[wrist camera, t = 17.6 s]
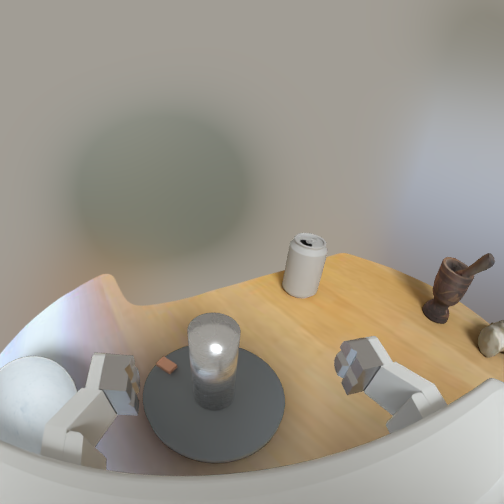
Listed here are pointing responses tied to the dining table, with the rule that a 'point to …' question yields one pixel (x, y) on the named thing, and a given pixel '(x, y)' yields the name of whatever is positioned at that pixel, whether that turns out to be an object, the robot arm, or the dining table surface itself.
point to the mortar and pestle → (452, 285)
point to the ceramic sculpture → (492, 339)
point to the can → (304, 265)
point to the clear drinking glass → (213, 359)
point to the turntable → (213, 422)
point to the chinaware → (31, 399)
